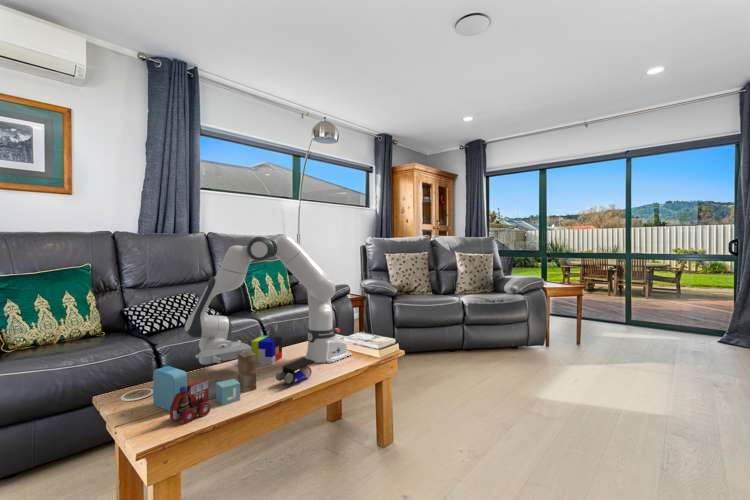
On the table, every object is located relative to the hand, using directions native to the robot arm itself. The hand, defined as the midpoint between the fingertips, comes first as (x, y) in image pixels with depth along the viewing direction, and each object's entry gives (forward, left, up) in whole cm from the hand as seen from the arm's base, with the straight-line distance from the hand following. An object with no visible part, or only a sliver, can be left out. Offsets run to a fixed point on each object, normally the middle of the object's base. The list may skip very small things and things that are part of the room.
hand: (233, 358), depth 145 cm
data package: (+25, +9, -9) cm, 28 cm away
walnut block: (0, +12, -8) cm, 15 cm away
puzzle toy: (-21, -14, -9) cm, 27 cm away
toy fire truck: (+22, +22, -9) cm, 32 cm away
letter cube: (+9, +17, -8) cm, 21 cm away
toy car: (-17, +18, -9) cm, 27 cm away
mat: (+9, +5, -8) cm, 13 cm away
